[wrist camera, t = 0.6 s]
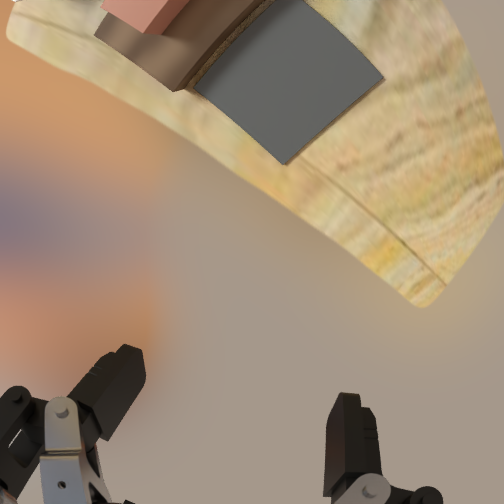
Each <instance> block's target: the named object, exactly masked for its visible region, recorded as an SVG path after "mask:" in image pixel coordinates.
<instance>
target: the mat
mask: <svg viewBox="0 0 504 504" xmlns="http://www.w3.org/2000/svg"><path fill="white" fill-rule="evenodd" d="M382 78H383V76H382V75H381V74H380V73H379V72H378V70H377V69H376V68H375V67H374V66H373V65H372V64H371V63H370V62H369V61H368V60H367V59H366V57H365V56H364V55H363V54H362V53H361V52H360V51H359V50H358V49H357V48H356V47H355V46H354V45H353V44H352V43H351V42H350V41H349V40H348V39H346V38H345V37H344V36H343V35H342V34H341V33H340V32H339V31H338V30H337V29H336V28H335V27H333V26H332V25H331V24H330V23H329V22H328V21H327V20H326V19H324V18H323V17H322V16H321V15H320V14H318V13H317V12H316V11H315V10H314V9H312V8H311V7H310V6H309V5H307V4H306V3H305V2H304V1H302V0H276V1H275V2H274V3H273V4H272V5H270V6H269V7H268V8H267V9H266V10H265V11H264V12H263V13H262V14H261V15H260V16H259V17H258V18H257V19H256V20H255V21H254V22H253V23H251V24H250V25H249V26H248V27H247V28H246V29H245V30H244V32H243V33H242V34H241V35H240V36H239V37H238V38H237V39H236V40H235V41H234V42H233V43H232V44H231V45H230V46H229V47H228V48H227V49H226V51H225V52H224V53H223V54H222V55H221V56H220V57H219V58H218V59H217V61H216V62H215V63H214V64H213V65H212V66H211V67H210V69H209V70H208V71H207V72H206V73H205V74H204V76H203V77H202V78H201V79H200V80H199V82H198V83H197V84H196V85H195V87H194V89H195V90H196V91H198V92H199V93H200V94H201V95H203V96H204V97H205V98H206V99H208V100H209V101H210V102H211V103H212V104H214V105H215V106H216V107H217V108H219V109H220V110H221V111H222V112H223V113H225V114H226V115H227V116H228V117H229V118H230V119H232V120H233V121H234V122H235V123H236V124H238V125H239V126H240V127H241V128H242V129H243V130H244V131H246V132H247V133H248V134H249V135H250V136H251V137H252V138H254V139H255V140H256V141H257V142H258V143H259V144H260V145H261V146H262V147H264V148H265V149H266V150H267V151H268V152H269V153H270V154H271V155H272V156H273V157H275V158H276V159H277V160H278V161H279V162H280V163H281V164H282V165H283V164H284V163H286V162H287V161H288V160H289V159H290V158H291V157H292V156H293V155H294V154H295V153H296V152H298V151H299V150H300V149H301V148H302V147H303V146H304V145H305V144H306V143H308V142H309V141H310V140H311V139H312V138H313V137H314V136H315V135H316V134H318V133H319V132H320V131H321V130H322V129H323V128H324V127H326V126H327V125H328V124H329V123H330V122H331V121H332V120H333V119H335V118H336V117H337V116H338V115H339V114H340V113H342V112H343V111H344V110H345V109H346V108H347V107H349V106H350V105H351V104H352V103H353V102H354V101H356V100H357V99H358V98H359V97H360V96H361V95H363V94H364V93H365V92H366V91H367V90H369V89H370V88H371V87H372V86H373V85H375V84H376V83H377V82H378V81H379V80H381V79H382Z"/></svg>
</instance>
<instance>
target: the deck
mask: <svg viewBox="0 0 504 504" xmlns="http://www.w3.org/2000/svg"><path fill="white" fill-rule="evenodd" d="M264 1H265V0H189V2H188V3H187V4H186V5H185V6H184V7H183V8H182V10H181V11H180V12H179V13H178V14H177V16H176V17H175V18H174V19H173V20H172V22H171V23H170V24H169V25H168V27H167V28H166V29H165V31H164V32H163V33H162V34H161V35H156V34H145V33H141V32H140V31H138V30H137V29H135V28H134V27H132V26H131V25H129V24H127V23H126V22H124V21H123V20H121V19H119V18H118V17H116V16H114V15H113V14H111V13H109V12H108V13H107V15H106V16H105V18H104V19H103V21H102V22H101V24H100V26H99V27H98V29H97V31H96V32H95V34H94V36H96V37H97V38H99V39H100V40H102V41H103V42H105V43H106V44H108V45H109V46H111V47H112V48H114V49H115V50H116V51H118V52H119V53H121V54H122V55H124V56H125V57H126V58H128V59H129V60H131V61H132V62H133V63H135V64H136V65H138V66H139V67H140V68H142V69H143V70H144V71H146V72H147V73H148V74H150V75H151V76H152V77H154V78H155V79H156V80H158V81H159V82H160V83H162V84H163V85H164V86H166V87H167V88H168V89H169V90H171V91H172V92H175V91H179V90H183V89H184V88H185V86H186V85H187V84H188V83H189V81H190V80H191V79H192V78H193V76H194V75H195V74H196V73H197V72H198V70H199V69H200V68H201V67H202V66H203V64H204V63H205V62H206V61H207V60H208V59H209V57H210V56H211V55H212V54H213V53H214V52H215V51H216V49H217V48H218V47H219V46H220V45H221V44H222V43H223V42H224V41H225V39H226V38H227V37H228V36H229V35H230V34H231V33H232V32H233V31H234V30H235V29H236V28H237V27H238V26H239V25H240V24H241V23H242V22H243V21H244V20H245V19H246V18H247V17H248V16H249V15H250V14H251V13H252V12H253V11H254V10H255V9H256V8H257V7H258V6H259V5H260V4H261V3H262V2H264Z"/></svg>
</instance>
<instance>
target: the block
mask: <svg viewBox="0 0 504 504" xmlns="http://www.w3.org/2000/svg"><path fill="white" fill-rule="evenodd" d="M188 2H189V0H105V1H104V2H103V4H102V5H101V8H103V9H104V10H106V11H108V12H109V13H111V14H113V15H114V16H116V17H118V18H119V19H121V20H123V21H124V22H126V23H127V24H129V25H131V26H132V27H134V28H135V29H137V30H138V31H140V32H141V33H145V34H156V35H161V34H162V33H163V32H164V31H165V29H166V28H167V27H168V25H169V24H170V23H171V22H172V20H173V19H174V18H175V17H176V16H177V14H178V13H179V12H180V11H181V10H182V8H183V7H184V6H185V5H186V4H187V3H188Z"/></svg>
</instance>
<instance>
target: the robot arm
mask: <svg viewBox="0 0 504 504" xmlns="http://www.w3.org/2000/svg"><path fill="white" fill-rule="evenodd" d="M145 380H146V372H145V366H144V359H143V353H142V350H141V349H139V348H135V347H133V346H130V345H127V344H123V345H122V346H121V347H120V348H119V349H118V350H117V352H116V353H114V352H109V353H108V354H106V355H104V356H102V357H101V358H100V359H99V360H98V361H97V362H96V363H95V365H94V367H92V368H91V369H90V370H89V373H87V374H86V375H85V376H84V377H83V378H82V380H81V381H80V382H79V383H78V384H77V385H76V387H75V388H74V389H73V390H72V391H71V392H70V394H69V395H68V396H67V397H56V398H53V399H51V400H50V401H46V400H41V399H38V398H34V397H32V396H31V394H30V392H29V391H28V390H27V389H26V388H25V387H23V386H13V387H11V388H9V389H8V390H7V391H6V392H5V393H4V394H3V395H2V397H1V398H0V504H18V503H17V501H16V500H17V498H18V497H19V495H20V493H21V492H22V490H23V488H24V486H25V485H26V483H27V481H28V480H29V478H30V477H31V475H32V473H33V472H34V470H35V469H36V467H37V465H38V464H39V462H40V472H41V483H42V491H43V498H44V504H121V503H112V500H111V498H110V494H109V492H108V490H107V487H106V485H105V483H104V479H103V475H102V471H101V466H100V462H99V456H98V451H97V445H96V442H97V440H98V439H99V437H100V438H102V439H104V440H106V441H109V439H110V437H111V436H112V434H113V433H114V431H115V430H116V428H117V427H118V425H119V424H120V422H121V420H122V419H123V417H124V416H125V414H126V413H127V411H128V410H129V408H130V406H131V405H132V403H133V402H134V400H135V399H136V397H137V395H138V394H139V393H140V391H141V389H142V388H143V386H144V384H145ZM20 429H21V430H22V431H21V432H20V433H19V434H18V436H17V437H16V438H15V440H14V441H13V443H12V444H11V446H10V447H9V444H10V443H11V441H12V440H13V438H14V437H15V436H16V435H17V433H18V432H19V430H20ZM8 447H9V448H8ZM325 452H326V453H325V474H324V491H323V497H331V504H443V498H442V495H441V493H440V492H439V491H438V490H437V489H436V488H434V487H430V486H425V487H421V488H419V489H417V490H416V491H415V492H413V491H408V490H404V489H400V488H396V487H394V486H391V485H390V484H389V482H388V481H387V480H386V479H385V478H384V477H383V475H382V470H381V460H380V451H379V442H378V433H377V426H376V418H375V416H374V415H373V413H372V411H371V410H370V408H366V407H361V400H360V395H359V394H354V393H343V392H341V393H339V395H338V398H337V400H336V402H335V404H334V406H333V408H332V410H331V412H330V414H329V417H328V420H327V425H326V450H325ZM123 504H135V503H132V502H130V501H128V500H125V501H124V503H123Z"/></svg>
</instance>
